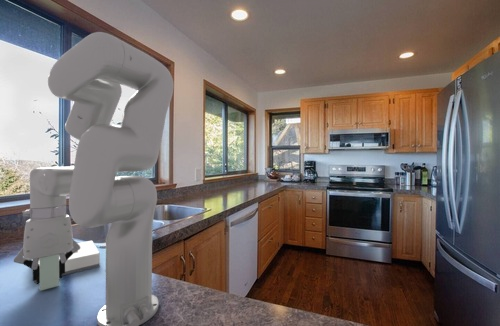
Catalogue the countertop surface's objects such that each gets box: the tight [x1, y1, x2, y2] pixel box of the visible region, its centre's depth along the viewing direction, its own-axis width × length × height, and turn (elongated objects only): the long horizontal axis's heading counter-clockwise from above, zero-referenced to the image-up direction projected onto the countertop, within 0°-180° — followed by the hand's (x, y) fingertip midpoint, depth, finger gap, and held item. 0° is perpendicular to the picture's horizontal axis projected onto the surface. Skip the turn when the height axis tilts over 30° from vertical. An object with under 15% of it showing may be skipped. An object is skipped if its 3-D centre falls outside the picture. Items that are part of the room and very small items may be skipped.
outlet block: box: [33, 240, 101, 283], centre depth 79 cm, size 16×16×4 cm
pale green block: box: [39, 254, 60, 291], centre depth 65 cm, size 4×4×10 cm
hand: (49, 278), depth 65 cm, fingers closed on pale green block, 4 cm apart
